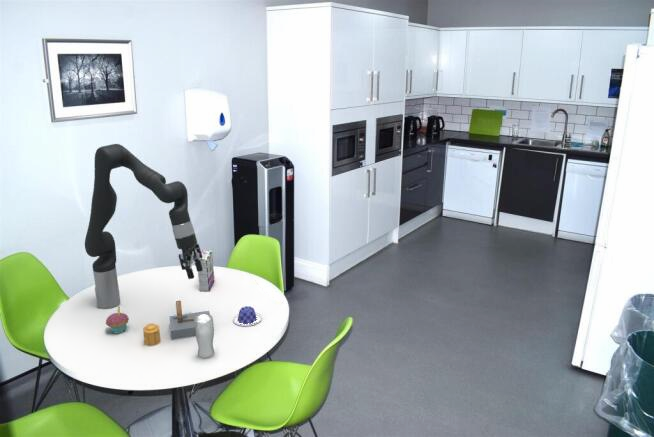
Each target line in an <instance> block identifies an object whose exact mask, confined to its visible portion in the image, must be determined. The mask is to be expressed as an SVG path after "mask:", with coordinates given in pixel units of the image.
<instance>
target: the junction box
mask: <svg viewBox="0 0 654 437" xmlns="http://www.w3.org/2000/svg"><path fill="white" fill-rule="evenodd" d="M201 314H209V315H211V312H210V310H204V311H203V310H202V311H198V312H197V311H196V312H191V313H189V312H188V313H184V314H183V313H182V317H183V322H182V323H178V320H177V314H176V315H175V314H174V315H171V316H169V327H170V338H171V341H172V340H173V341H174V340H180V339H186V338H192V337H196V336H195V330H194V318H195V317H196V316H198V315H201Z"/></svg>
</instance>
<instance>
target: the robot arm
mask: <svg viewBox="0 0 654 437" xmlns="http://www.w3.org/2000/svg"><path fill="white" fill-rule="evenodd" d="M122 167H123V168H126V169H129V170H130V171H131V172H132V173H133V175H134V178H135V179H136V181H137V182H138V183H139V184H140V185H141V186H143V187H145V188H147V189H149V191H152V193H153V194H154V196H156V197H157V199H158V200H159V201H160V202H162V203H165V204H172V203H173V207H172V208H171V209H169V211H168V216H169V220H170V223H171V227H172V233H173V236H174V240H175V243H176V247H177V249H178V250H181V252H182V253H179V254H178V260H179V264H180V267H181V271H185V272H186V275H187V279H188V280H191V279H194V278H195V275H194V270H193V268H192V264H193V263H194V265H195V268H196V272H197V273H198V272H199V271H202V270H203V268H202V265H201V258H202V253H201V252H202V251H201V247H200V245H199V244H200V243H198V239H197V237H196V236H197V235H196V232H195V228H194V226H193V223H192V221H191V217H190V213H189V201H188V200H189V199H188V198H189V197H188V189H187V186H186V185H185V184H184V183H183V182H182V181H179V180H177V181H172V182H169V183H167V180H166V177H165V176H164V175H163V174H161V173H159V172H157V171H156V170H154V169H152V168H151V167H149V166H148V165H146V164H145V163H143V161H141V160H140V159H139V158H138V157H137V156H135V154H133V153H132V152H131V151H130V150H128V149H127V148H126V147H125V146H123V145H121V144H120V143H112V144H107V145H104V146H100V147H98V148H97V149H96V151H95V153H94V180H93V191H92V197H91V198H92V199H91V206H90V215H89V216H90V217H89V221H88V226H87V230H86V235H85V239H84V249H85V253H87V255H88V256H89V257H91V258H96V259H95V260H94V261H93V263H92V273H93V279H94V280H93V281H94V292H95V298H96V299H95V300H96V306H97V309H112V308H116V307H118V306H120V304H121V295H120V289H119V288H120V287H119V280H118V272H117V265H116V263H117V248H116V241H115V238H114V236H113V234H112V233H111V232H110V231H107V230H106V231H104V230H105V228H106V227H107V225H108V223H109V222H110V221H111V219H112V218H113V217H114V214H115V212H116V208H117V203H118V196H117V193H116V191H115V189H114V187H113V185H112V184H111V172H112V170H115V169H118V168H122Z"/></svg>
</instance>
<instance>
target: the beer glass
mask: <svg viewBox="0 0 654 437" xmlns="http://www.w3.org/2000/svg"><path fill="white" fill-rule="evenodd" d="M214 324H215V323H214V318H213V316H212V315H211V314H210V315H209V314H201V315H198V316H196V317H195V318H194V330H195V336H194V337H195V338H196V343H197V347H198V348H197V350H198V351H197V356H198V357H199V358H200V359H210V358H212V357H213V356H214V355H215V350H214V336H215V326H214Z"/></svg>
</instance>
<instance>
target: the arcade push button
mask: <svg viewBox="0 0 654 437" xmlns="http://www.w3.org/2000/svg"><path fill="white" fill-rule="evenodd" d="M142 329H143V331H142V332H143V340H144V341H143V342H144V345H145V346H148V347H151V346H156V345H158V344H160V343H161V333H160V325H158V324H157V323H147V324H146V325H145V326H144V327H143V328H142Z"/></svg>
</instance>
